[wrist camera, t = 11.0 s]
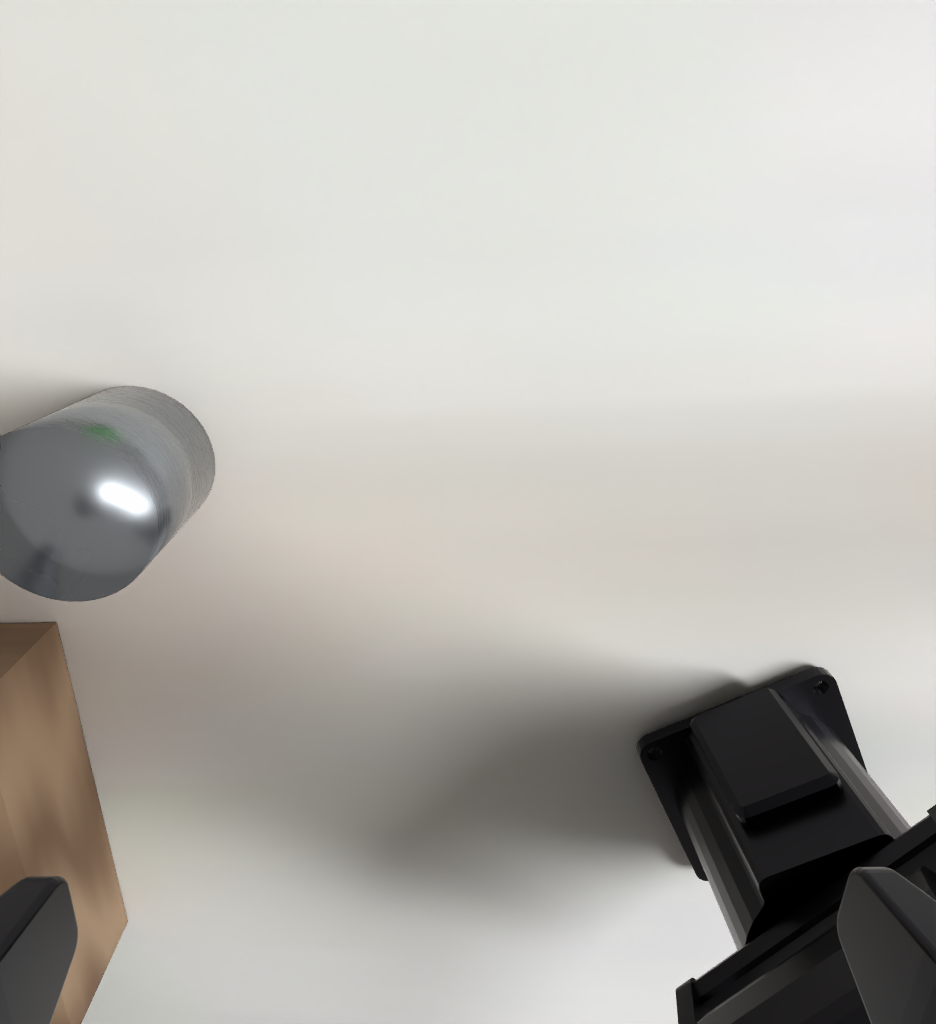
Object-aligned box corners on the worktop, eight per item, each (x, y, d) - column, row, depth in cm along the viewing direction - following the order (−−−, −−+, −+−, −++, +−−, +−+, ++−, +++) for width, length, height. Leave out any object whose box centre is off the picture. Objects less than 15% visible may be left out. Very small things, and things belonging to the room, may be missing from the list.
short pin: (243, 490, 20) (191, 556, 16) (122, 549, 21) (40, 628, 16) (160, 360, 19) (81, 394, 15) (33, 425, 19) (-80, 477, 15)
